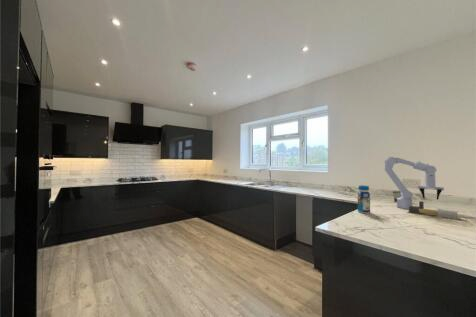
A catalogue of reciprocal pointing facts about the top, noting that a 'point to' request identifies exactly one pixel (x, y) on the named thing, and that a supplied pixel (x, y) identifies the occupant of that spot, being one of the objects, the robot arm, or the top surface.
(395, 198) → the food container
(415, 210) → the socket
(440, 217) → the base board
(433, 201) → the top surface
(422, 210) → the inner sliding bolt
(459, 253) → the top surface
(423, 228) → the top surface
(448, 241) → the top surface
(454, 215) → the sleeve
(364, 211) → the beverage bottle
